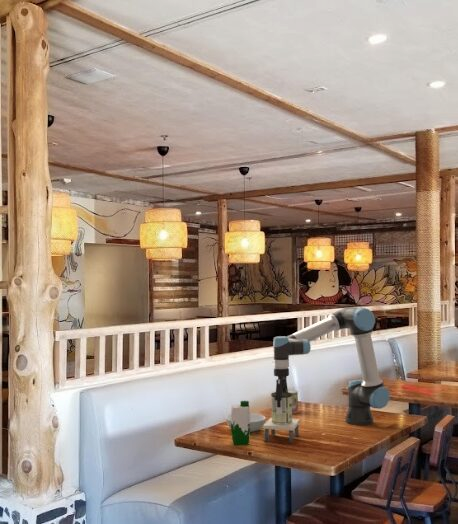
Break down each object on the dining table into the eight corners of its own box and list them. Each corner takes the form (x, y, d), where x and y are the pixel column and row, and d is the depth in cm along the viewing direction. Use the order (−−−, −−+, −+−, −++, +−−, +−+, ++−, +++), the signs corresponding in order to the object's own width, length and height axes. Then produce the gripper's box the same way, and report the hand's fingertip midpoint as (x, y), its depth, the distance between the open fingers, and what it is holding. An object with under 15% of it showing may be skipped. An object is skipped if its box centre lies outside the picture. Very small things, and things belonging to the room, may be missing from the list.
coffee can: (271, 419, 307) (271, 391, 308) (292, 420, 306) (291, 391, 307) (271, 424, 297) (270, 395, 298) (292, 424, 296) (292, 395, 296)
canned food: (286, 414, 357) (285, 393, 358) (275, 410, 367) (275, 390, 368) (301, 412, 363) (301, 391, 363) (290, 408, 373) (290, 389, 373)
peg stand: (299, 435, 308) (299, 419, 308) (293, 444, 291) (293, 427, 291) (270, 433, 312) (270, 417, 312) (263, 442, 295) (262, 425, 295)
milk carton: (250, 445, 289) (250, 403, 289) (231, 446, 288) (231, 403, 289) (248, 440, 297) (248, 399, 298) (230, 441, 297) (230, 400, 297)
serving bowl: (217, 430, 318) (217, 417, 318) (244, 424, 333) (244, 411, 334) (247, 437, 304) (247, 423, 304) (273, 430, 319) (273, 416, 320)
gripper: (278, 364, 316) (279, 405, 315) (268, 371, 292) (269, 415, 291) (293, 364, 313) (293, 406, 313) (284, 371, 289) (284, 416, 289)
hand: (282, 410), depth 302 cm, fingers open, 13 cm apart
